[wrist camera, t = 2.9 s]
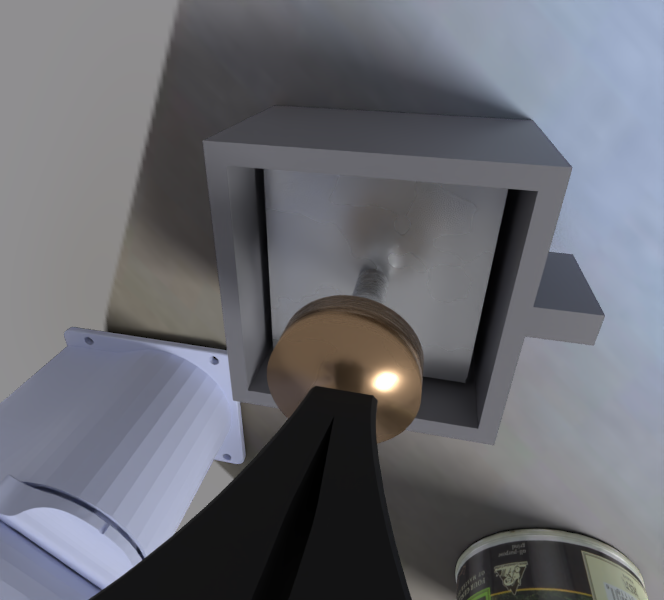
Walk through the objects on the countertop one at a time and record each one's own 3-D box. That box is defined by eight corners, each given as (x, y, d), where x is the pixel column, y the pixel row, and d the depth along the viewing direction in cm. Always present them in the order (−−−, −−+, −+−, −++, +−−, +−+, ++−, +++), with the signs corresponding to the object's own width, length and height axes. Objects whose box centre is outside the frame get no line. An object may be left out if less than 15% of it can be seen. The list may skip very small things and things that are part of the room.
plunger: (278, 344, 18) (215, 464, 13) (269, 160, 14) (178, 231, 10) (465, 371, 17) (472, 514, 12) (506, 178, 13) (539, 270, 8)
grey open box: (282, 312, 22) (232, 400, 17) (274, 105, 17) (202, 140, 12) (531, 346, 20) (559, 456, 15) (597, 123, 15) (669, 174, 10)
